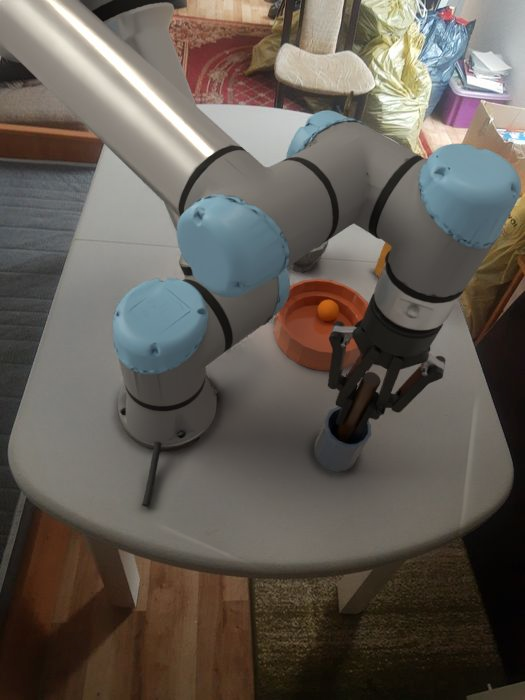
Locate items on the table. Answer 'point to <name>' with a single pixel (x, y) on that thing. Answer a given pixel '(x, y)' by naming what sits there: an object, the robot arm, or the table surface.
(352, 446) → the utensil pot
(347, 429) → the stirring stick
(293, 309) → the bowl
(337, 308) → the ball
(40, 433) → the table surface
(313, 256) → the mortar and pestle
